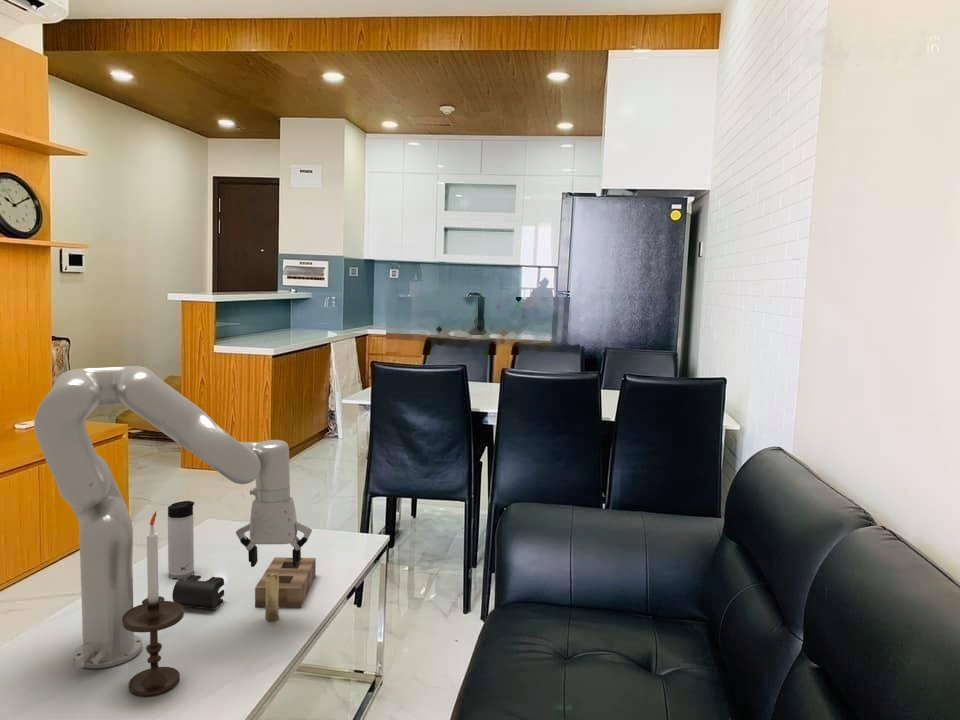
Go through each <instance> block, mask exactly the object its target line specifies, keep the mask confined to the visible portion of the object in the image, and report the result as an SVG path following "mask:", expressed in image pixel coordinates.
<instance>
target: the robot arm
mask: <svg viewBox="0 0 960 720" xmlns="http://www.w3.org/2000/svg"><path fill="white" fill-rule="evenodd" d="M123 405H124V406H125V408H127V409H129V410H130V411H131V412H133V413H134V414H136V415H137V416H138V417H140V418H141V419H143V420H145V421H146V422H148V423H149V424H151V425H152V426H154V427H155V428H156V429H157V430H159V431H160V432H162V433H163V434H164V435H165V436H167V437H169V438H170V440H173V441H174V442H175V443H176V444H178V445H179V446H180V447H182V448H183V449H185V450H187V451H188V452H190V453H191V454H193V455H194V456H195V457H197V458H198V459H199V460H201V461H202V462H204V463H205V464H206V465H208V466H209V467H210V468H212V469H213V470H214V471H216V473H219V474H220V475H222V476H223V477H224V478H226V479H227V480H228V481H230V482H231V483H234V484H236V485H237V484H238V485H247V484H251V483H252V482H254V481H255V488H250V490H249V495H251V496H254V497H255V499H253V500H252V502H251V510H250V521H249V523H248V524H246V525H244V526H242V527H240V528H238V529H237V530H236V531H235V534H236V536H237V538H238V539H239V542H240V544H242V545H243V546H244V547H245V548H246V550H247V552H248V555H247V556H248V562H249V563H250V568H254V567H255V566H256V564H257V563H258V561H259V558H258V546H257V545H288V544H289V545H291V546H292V555H291V556H292V558H293V566H294V567H296V566H297V564H298V562H300V560H301V558H302V556H301V554H302V552H301V551H302V547H303V546H304V545H305V544H306V543H307V542H308V540H309V537H310V536H311V534H312V532H313V529H312V528H310V527H309V526H306V525H304V524H301V523H300V522H299V521H298V520H297V512H296V505H295V501H294V499H293V497H292V496H291V481H290V480H291V479H290V478H291V477H290V474H291V473H290V447H289V444H288V443H287V442H286V441H284V440H281V439H267V440H264V441H263V440H262V441H257V442H256V441H238V440H237V439H235V438H234V437H232V435H230V434H229V433H227V431H225V430H224V429H223V428H221V427H220V426H219V425H218V424H217V423H216V422H215V421H214V420H213V419H212V418H211V417H210V416H209V415H208V413H206V412H205V411H204V410H203V409H201V407H199V406H198V405H196V404H195V403H193V402H192V401H191V400H190V399H188V398H187V397H186V396H184V395H183V394H181V393H180V392H179V391H177V390H176V389H175V388H173V387H172V386H171V385H169V384H168V382H165V381H164V380H162V379H161V378H160V377H159V376H158V375H156V374H155V373H154V372H153V371H152V370H151V369H149V368H148V367H145V366H141V365H129V366H128V365H127V366H112V367H111V366H108V367H86V368H85V367H83V368H73V369H70V370H66V371H64V372H63V373H61V374H60V375H58V376H57V377H56V379H55V381H54V382H53V385H52V388H51V389H50V391H49V392H48V393H47V394H46V396H45V397H44V398H43V399H42V401H41V402H40V403H39V405H38V408H37V409H36V413H35V416H34V422H33V423H34V424H33V426H34V428H33V429H34V434H35V437H36V440H37V443H38V445H39V447H40V450H41V452H42V455H43V456H44V459H45V462H46V464H47V466H48V469H49V470H50V472H51V474H52V477H53V479H54V481H55V483H56V486H57V490H58V492H59V494H60V496H61V498H62V499H63V500H64V501H65V502H66V503H67V504H68V505H70V507H71V509H72V512H73V513H74V515H75V517H76V519H77V521H78V524H79V526H78V528H79V529H78V531H79V532H78V533H79V534H78V535H79V536H78V537H79V538H78V539H79V540H78V542H79V543H78V544H79V560H80V562H79V563H80V589H81V591H80V592H81V594H80V595H81V622H82V629H81V630H82V645H80V646H79V647H78V648H77V649H76V650H75V652H74V666H75V668H77V669H82V668H86V669H105V668H111V667H114V666H118V665H121V664H123V663H126V662H128V661H130V660H131V659H134V658H135V657H136V656H138V655H139V654H140V652H141V651H142V648H143V640H142V639H141V637H140V636H138V635H135V632H132V631H129V630H126V629H125V628H124V627H123V626H122V617H123V615H124V614H125V613H126V612H127V611H128V610H130V609H132V608H134V578H133V577H134V575H133V573H134V571H133V551H134V549H133V548H134V547H133V546H134V530H133V523H132V518H131V516H130V512H129V509H128V507H127V504H126V502H125V499H124V498H123V496H122V493H121V491H120V489H119V486H118V484H117V482H116V480H115V478H114V476H113V474H112V472H111V469H110V466H109V465H108V463H107V462H106V460H105V459H104V458H103V457H101V455H99V454H98V453H97V451H96V449H95V446H94V445H93V442H92V439H91V437H90V435H89V433H88V430H87V428H86V420H87V418H88V416H89V415H90V414H91V413H92V412H93V411H94V410H95V409H96V408H98V407H111V406H123ZM298 531H299V532H301V533H302V534H303V536H302V538H299V537H298V536H297V535H298ZM247 532H249V536H248V537H247V535H246V534H245V533H247Z"/></svg>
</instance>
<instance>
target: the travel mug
mask: <svg viewBox="0 0 960 720" xmlns="http://www.w3.org/2000/svg"><path fill="white" fill-rule="evenodd" d="M194 506H195V501H192V500H183V501H177V502H174V503H171V505H169V506H167V559H168V560H167V562H168V572H167V573H168V577H169V576H170V577H172V578H183V579H187V578H188V577H189V576H190V575H192V574H193V575H194V574H195V560H194V559H195V556H194V555H195V554H194V553H195V552H194V549H195V548H194V545H195V544H194V543H195V542H194V511H193V510H194ZM170 577H169V578H170ZM186 577H187V578H186ZM172 578H171V579H172Z"/></svg>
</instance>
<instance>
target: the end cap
mask: <svg viewBox="0 0 960 720" xmlns="http://www.w3.org/2000/svg"><path fill="white" fill-rule="evenodd" d="M201 578H202V575H197V574H196V575H195V574H193V575H190V576H189V577H187V578H183V579H177V581H176V582H175V584H174V586H173V590H172V602H176V603H179V604H181V605H182V606H183V607H185V606H187V608H196V609H197V608H198V609H209V610H216V609H217V608H219V607H220V606H221V604H223V603H224V599H223V598H222V597H224V596H225V589H221V588H222V587H223V586H224V585H225V579H224V578H223V577H220V576H218V577H217V576H211V577H210V578H209V579H207V580H200V579H201ZM220 589H221V591H219V590H220Z"/></svg>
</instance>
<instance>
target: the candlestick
mask: <svg viewBox="0 0 960 720" xmlns="http://www.w3.org/2000/svg"><path fill="white" fill-rule="evenodd" d="M156 518H157V510H155V511H154V513H153V514H152V517H151V519H150V521H149V525H150V527H149V528H150V529H149V532H148V533H146V560H147V561H146V563H147V564H146V565H147V566H146V567H147V573H146V574H147V598H144V599H143V600H142V601H141V604H139V605H136V606H133V608H132V609H130V610H128V611H127V612H126V613H125V614H124V615H123V617H122V626H123V627H124V628H125V629H126V630H129V631H132V632H134V633H140V634H141V633H149V642H150V643H149V644H148V645H147V646H146V647H145V649H146V652H147V654H149V657H148V658H147V663H148V664H150V668H147V669H144V670H142V671H140V672H138V673H136V674H135V675H133V676H132V678H130V680H129V681H128V690H129V693H130V694H131V695H133V696H135V697H138V698H139V697H140V698H152V697H157V696H160V695H163V694H166V693H168V692H170V691H172V690H174V689H175V688H176V687H177V685H178V684H179V683H180V680H181V679H180V678H181V677H180V675H181V673H180V672H179V670H178V669H176V668H174V667H172V666H171V667H170V666H159V663H160V661H161V660H162V656H161V655H160V654H159V653H160V652H161V651H162V648H163V645H162V643H161V642H159V640H158V639H159V637H158V635H159V633H158V631H162V630H165V629H168V628H170V627H171V628H172V626H175V625H176V624H179V623H180V621H181V620H183V618H184V617H185V608H184V606H182V605H181V604H179V603H176V602H173V600H165V597H164V596H161V595H159V547H158V546H159V545H158V543H159V541H158V532H157V531H155V527H154V525H155V521H156Z"/></svg>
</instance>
